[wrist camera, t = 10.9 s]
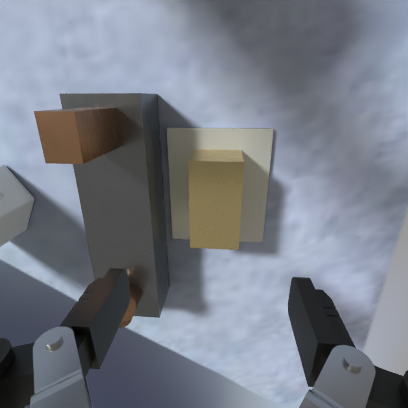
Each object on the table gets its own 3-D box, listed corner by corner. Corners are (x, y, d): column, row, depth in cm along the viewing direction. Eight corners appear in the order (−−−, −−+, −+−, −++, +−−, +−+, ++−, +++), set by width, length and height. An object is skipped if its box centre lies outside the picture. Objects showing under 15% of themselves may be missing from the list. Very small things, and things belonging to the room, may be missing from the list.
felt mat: (167, 127, 26) (166, 128, 25) (272, 128, 25) (273, 128, 24) (173, 236, 30) (172, 238, 30) (262, 240, 29) (262, 242, 29)
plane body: (90, 94, 25) (-4, 92, 15) (157, 94, 24) (105, 91, 14) (119, 283, 33) (70, 365, 23) (169, 286, 33) (142, 371, 23)
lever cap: (195, 149, 26) (188, 160, 21) (241, 150, 25) (243, 161, 21) (196, 223, 29) (190, 247, 24) (237, 225, 28) (238, 249, 24)
